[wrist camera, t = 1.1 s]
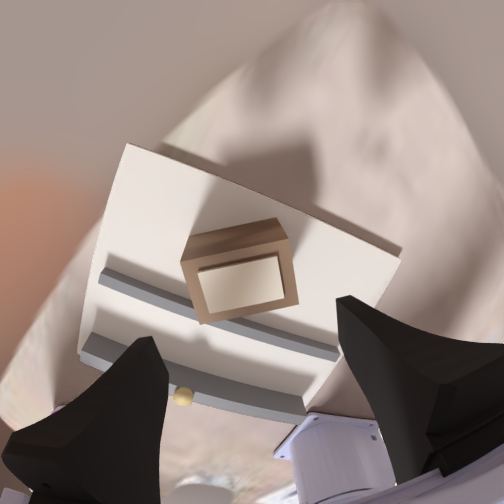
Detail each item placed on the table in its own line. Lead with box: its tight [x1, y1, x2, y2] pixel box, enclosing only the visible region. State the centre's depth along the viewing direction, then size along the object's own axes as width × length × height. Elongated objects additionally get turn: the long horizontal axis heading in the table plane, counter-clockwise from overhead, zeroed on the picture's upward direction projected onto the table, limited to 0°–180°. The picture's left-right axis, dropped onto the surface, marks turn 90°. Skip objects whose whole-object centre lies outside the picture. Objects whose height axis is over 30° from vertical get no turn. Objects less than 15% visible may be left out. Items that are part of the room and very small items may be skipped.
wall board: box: [77, 143, 402, 425], centre depth 21 cm, size 20×17×4 cm
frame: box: [180, 217, 299, 325], centre depth 18 cm, size 6×4×4 cm
